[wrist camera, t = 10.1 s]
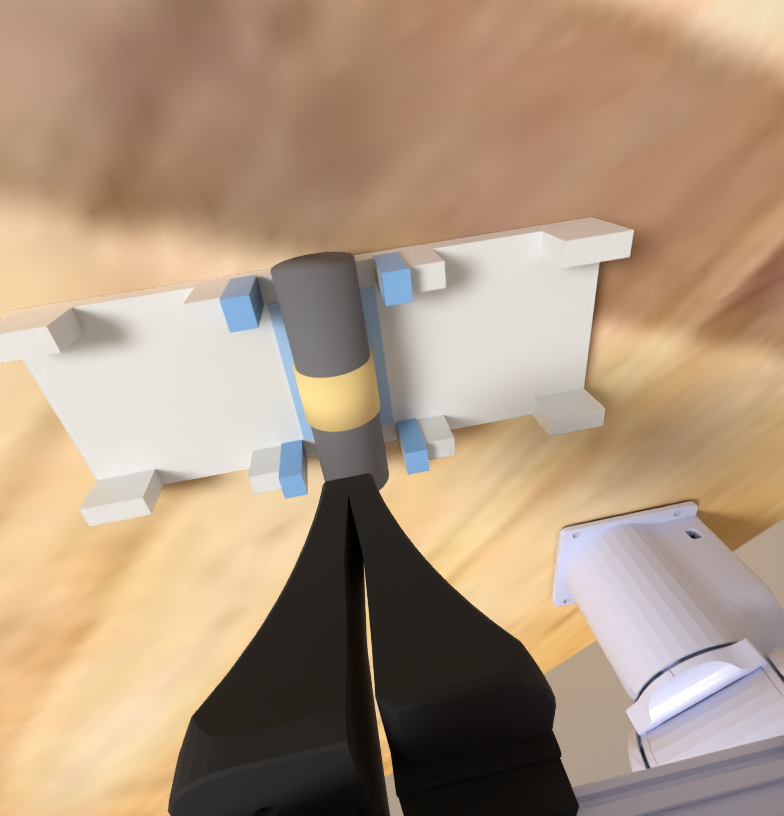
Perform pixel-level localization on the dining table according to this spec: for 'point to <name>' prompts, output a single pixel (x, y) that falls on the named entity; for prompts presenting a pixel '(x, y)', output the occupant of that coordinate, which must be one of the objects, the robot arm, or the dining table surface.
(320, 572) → the robot arm
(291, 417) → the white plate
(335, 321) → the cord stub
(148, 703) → the dining table surface
